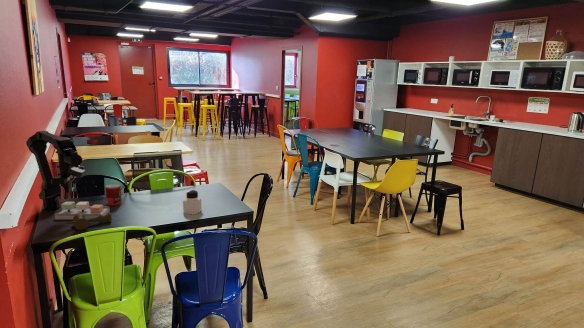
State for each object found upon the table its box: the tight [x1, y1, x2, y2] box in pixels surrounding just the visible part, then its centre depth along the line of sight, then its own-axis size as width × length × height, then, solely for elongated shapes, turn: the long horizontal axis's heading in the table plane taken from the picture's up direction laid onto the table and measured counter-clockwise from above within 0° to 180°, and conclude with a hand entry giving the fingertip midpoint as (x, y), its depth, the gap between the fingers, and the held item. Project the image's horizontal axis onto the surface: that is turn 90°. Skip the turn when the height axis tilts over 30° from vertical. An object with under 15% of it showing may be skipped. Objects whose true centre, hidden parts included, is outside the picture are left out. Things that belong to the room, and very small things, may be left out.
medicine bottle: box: [182, 189, 203, 216], centre depth 205 cm, size 7×7×12 cm
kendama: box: [65, 212, 113, 231], centre depth 184 cm, size 6×10×20 cm
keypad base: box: [54, 205, 111, 220], centre depth 197 cm, size 22×12×4 cm, turn 95°
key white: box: [75, 201, 90, 210], centre depth 196 cm, size 5×5×3 cm
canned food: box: [105, 183, 123, 207], centre depth 214 cm, size 8×8×11 cm
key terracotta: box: [90, 204, 104, 213], centre depth 197 cm, size 5×5×3 cm
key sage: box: [60, 201, 76, 211], centre depth 196 cm, size 5×5×3 cm
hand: (67, 192), depth 194 cm, fingers closed
